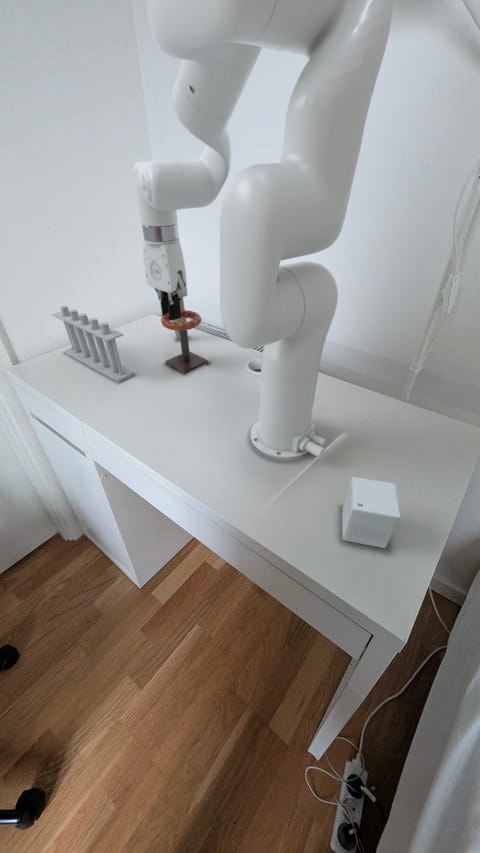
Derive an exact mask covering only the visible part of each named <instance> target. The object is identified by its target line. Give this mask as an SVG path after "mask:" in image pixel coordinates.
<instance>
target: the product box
mask: <svg viewBox="0 0 480 853" xmlns="http://www.w3.org/2000/svg"><path fill="white" fill-rule="evenodd" d="M341 511H342V512H341V514H342V515H341V524H342V525H341V526H342V527H341V529H342V530H341V533H342V541H345V542H351V543H355V544H360V545H365V546H371V547H375V548H381V549H387V546H388V544H389V542H390V540H391V539H392V536H393V533H394V532H395V529H396V528H397V525H398V523H399V521H400V520H401V510H400V503H399V497H398V490H397V485H396V483H393V482H387V481H382V480H376V479H369V478H362V477H356V476H352V477H351V479H350V482H349V486H348V489H347V492H346V495H345V500H344V503H343V505H342V510H341Z"/></svg>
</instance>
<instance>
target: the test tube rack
mask: <svg viewBox="0 0 480 853" xmlns="http://www.w3.org/2000/svg"><path fill="white" fill-rule="evenodd" d="M60 310H61V311H58V312H55V313H52V314H51V316H52V317H54V318H56V319H59V320H61V321H62V322H63V324H64V328H65V330H66V333H67V336H68V340H69V342H70V345H71V347H70V348H68V349H64V353H65V354H66V355H68V356H70V357H72V358H73V359H75V360H77V361H79V362H80V363H83V364H84V365H86V366H88V367H90V368H92V369H94V370H95V371H97V372H98V373H100V374H102V375H105V376H106V377H107V378H110V379H111V380H113V381H115V382H116V383H120V382H123V381H124V380H126V379H129V378H131V377H133V376H134V372H133V371H130V370H129V369H127V368H125V367H123V366H122V362H121V357H120V354H119V351H118V346H117V342H116V339H118V338H121V337H123V336H124V333H123V332H121V331H118V330H116V329H113V328H111V327H110V325H109V323H108V322H106V321H104V322H99V320H98V319H97V318H96V317H91V318H89V316H88V315H87V313H80V314H79V312H78V310H77V309H70V310H69V307H68V305H61V306H60Z"/></svg>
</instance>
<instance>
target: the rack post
mask: <svg viewBox="0 0 480 853" xmlns="http://www.w3.org/2000/svg"><path fill="white" fill-rule="evenodd" d="M179 334H180V341H179V343H180V349H181V350H180V351H181V353H179V354H178V355H176V356H174V357H171V358H169V359H167V360H165V362H164V363H165V365H166V366H168V367H170V368H172V369H174V370H175V371H177V372H179V373H181V374H183V375H186V374H189V373H191V372H193V371H195V370H197V369H199V368H201V367H204V366H206V365H208V364H209V360H208V359H206V358H204V357H203V356H200V355H198V354H196V353H194V352H192V351H190V344H189V335H188V330H182V331H179Z"/></svg>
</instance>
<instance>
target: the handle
mask: <svg viewBox="0 0 480 853" xmlns="http://www.w3.org/2000/svg"><path fill="white" fill-rule="evenodd" d="M185 289H186V292H187V293H188V287H186V288H185ZM174 294H176V293H173V296H174ZM180 309H181V310H186V308H185V303H184V297H182V299H181V302H180ZM172 322H178V323H181V322H188V321H187V318H178V319H176V320H173V321H172ZM174 333H175V337H176V340H177V341H179V342H180V334H179V331H178V330H174Z"/></svg>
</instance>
